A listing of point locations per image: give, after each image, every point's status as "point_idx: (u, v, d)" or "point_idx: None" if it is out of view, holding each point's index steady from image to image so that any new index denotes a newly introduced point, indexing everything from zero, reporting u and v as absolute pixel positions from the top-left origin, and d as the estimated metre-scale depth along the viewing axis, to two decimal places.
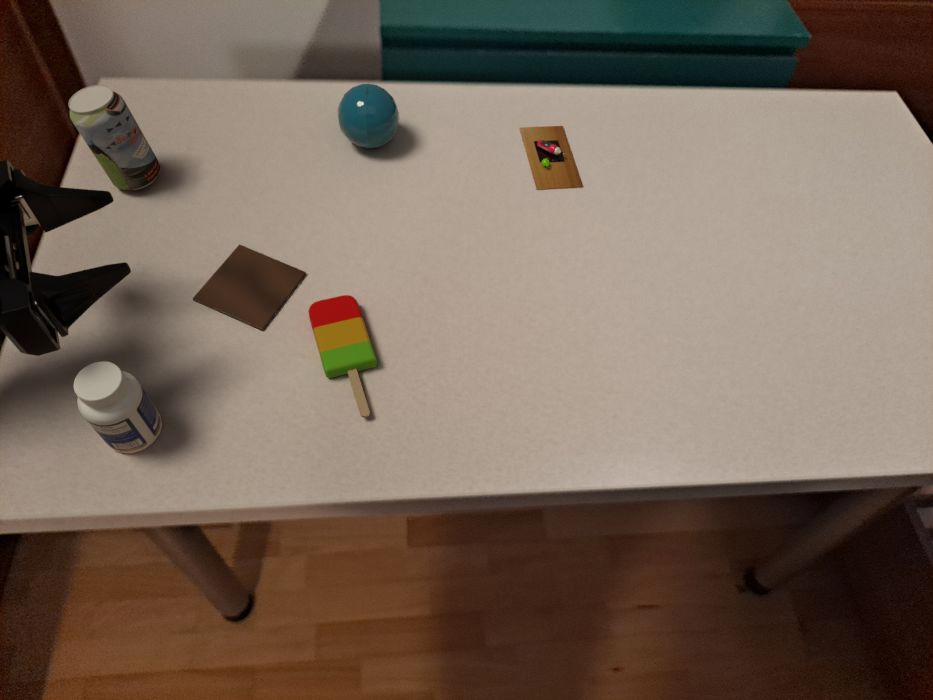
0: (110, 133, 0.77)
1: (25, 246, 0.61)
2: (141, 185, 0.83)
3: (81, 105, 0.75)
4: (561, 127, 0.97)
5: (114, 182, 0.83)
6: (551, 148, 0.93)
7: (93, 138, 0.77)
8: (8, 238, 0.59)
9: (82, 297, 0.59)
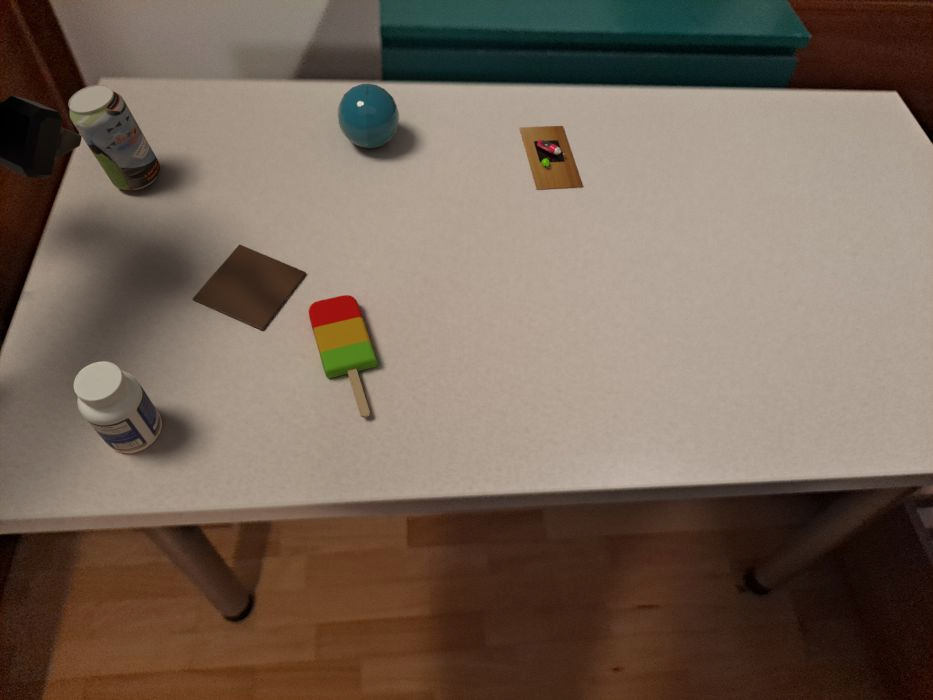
0: (110, 133, 0.77)
1: None
2: (141, 185, 0.83)
3: (81, 105, 0.75)
4: (561, 127, 0.97)
5: (114, 182, 0.83)
6: (551, 148, 0.93)
7: (93, 138, 0.77)
8: None
9: None
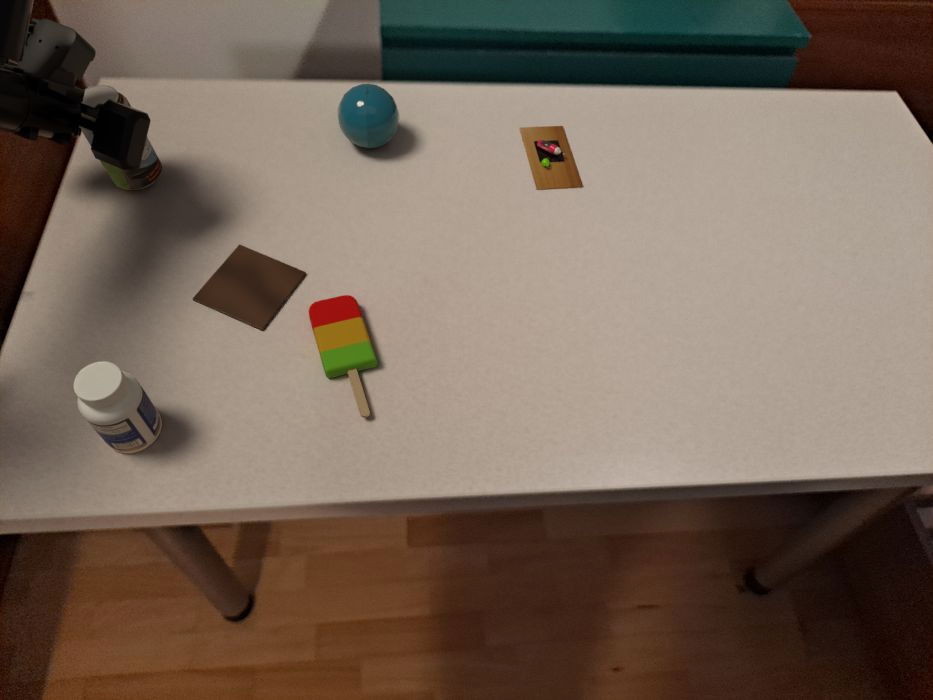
0: None
1: None
2: (142, 186, 0.83)
3: None
4: (561, 127, 0.97)
5: (115, 181, 0.82)
6: (551, 148, 0.93)
7: None
8: None
9: None
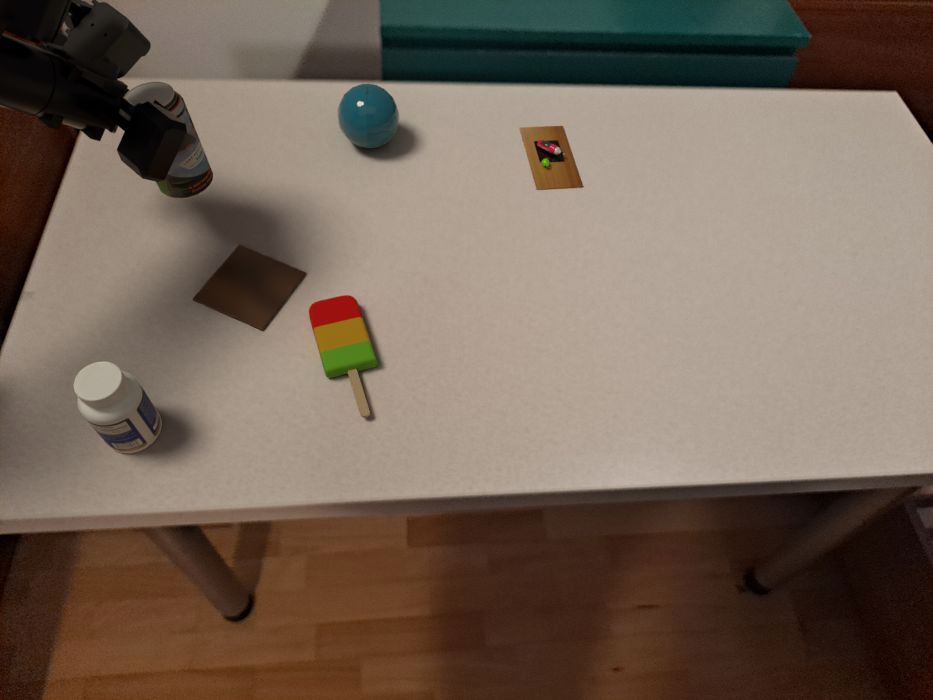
0: None
1: None
2: (184, 196, 0.75)
3: (136, 101, 0.68)
4: (561, 127, 0.97)
5: (158, 185, 0.75)
6: (551, 148, 0.93)
7: None
8: None
9: None
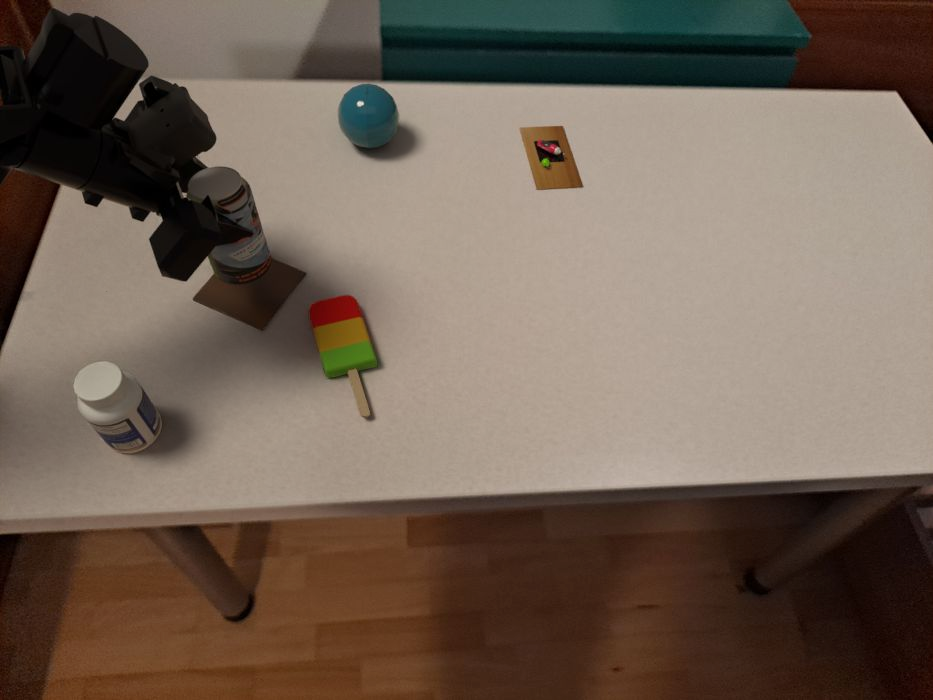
0: None
1: None
2: (230, 282, 0.71)
3: (200, 185, 0.64)
4: (561, 127, 0.97)
5: None
6: (551, 148, 0.93)
7: None
8: None
9: None
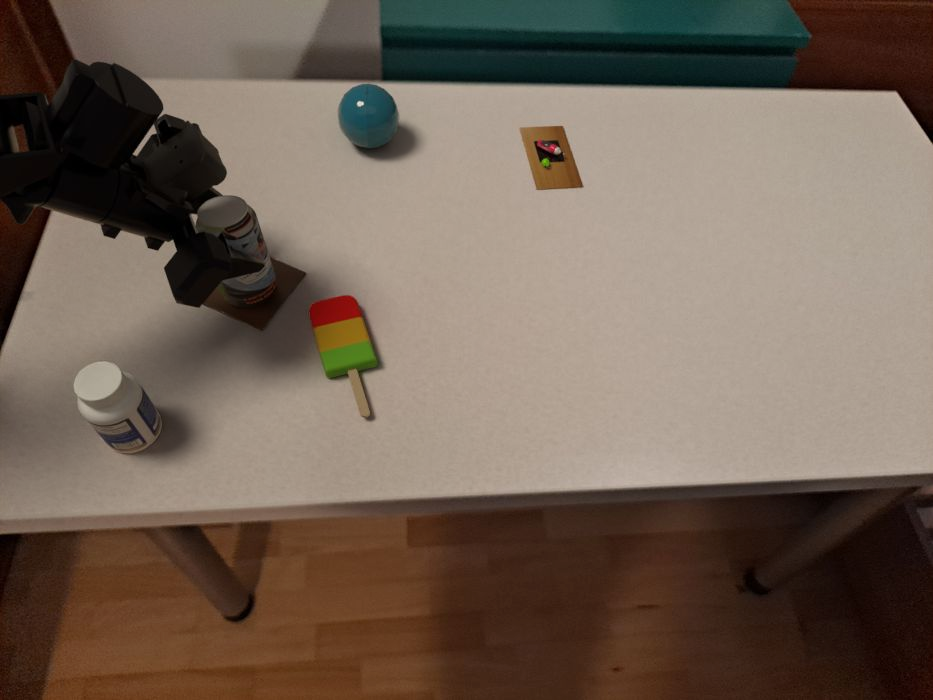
0: None
1: None
2: (238, 305, 0.74)
3: (208, 213, 0.68)
4: (561, 127, 0.97)
5: None
6: (551, 148, 0.93)
7: None
8: None
9: None
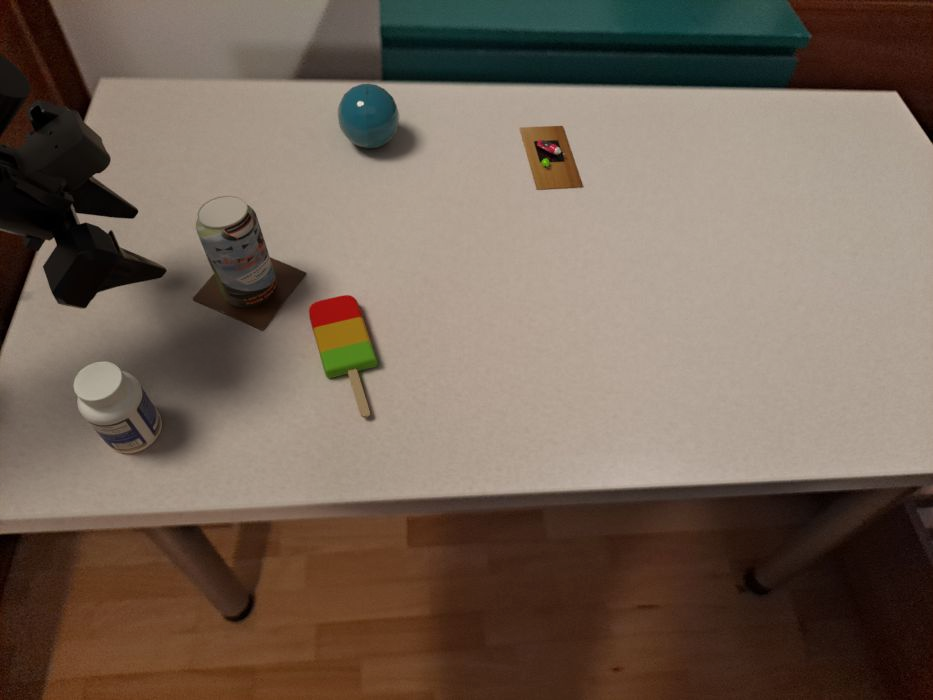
0: (218, 253, 0.68)
1: None
2: (238, 305, 0.74)
3: (208, 213, 0.68)
4: (561, 127, 0.97)
5: None
6: (551, 148, 0.93)
7: (204, 247, 0.69)
8: None
9: (119, 275, 0.61)
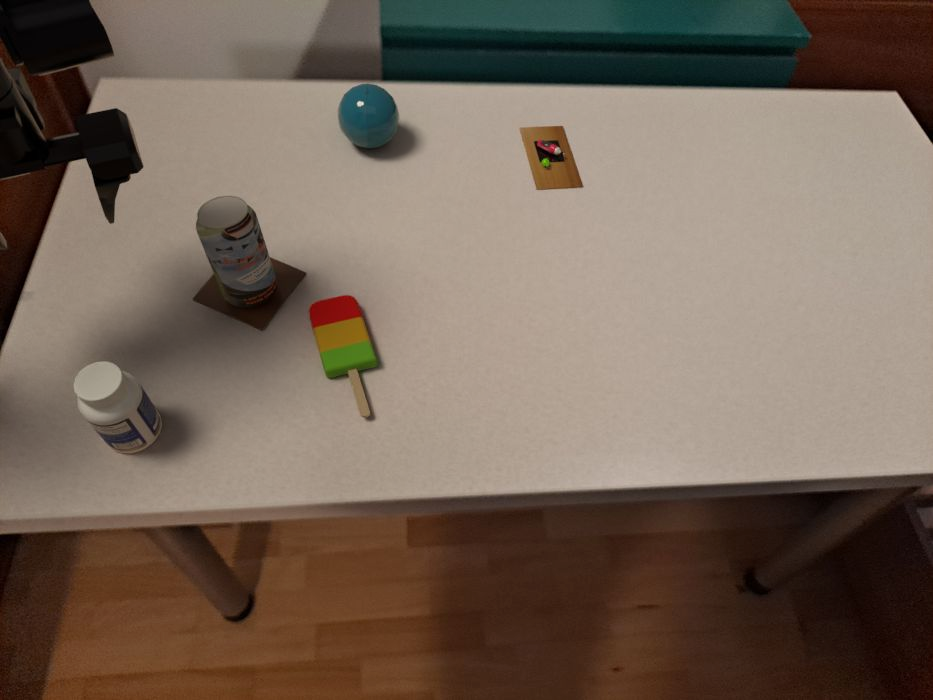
0: (218, 253, 0.68)
1: None
2: (238, 305, 0.74)
3: (208, 213, 0.68)
4: (561, 127, 0.97)
5: None
6: (551, 148, 0.93)
7: (204, 247, 0.69)
8: None
9: None
